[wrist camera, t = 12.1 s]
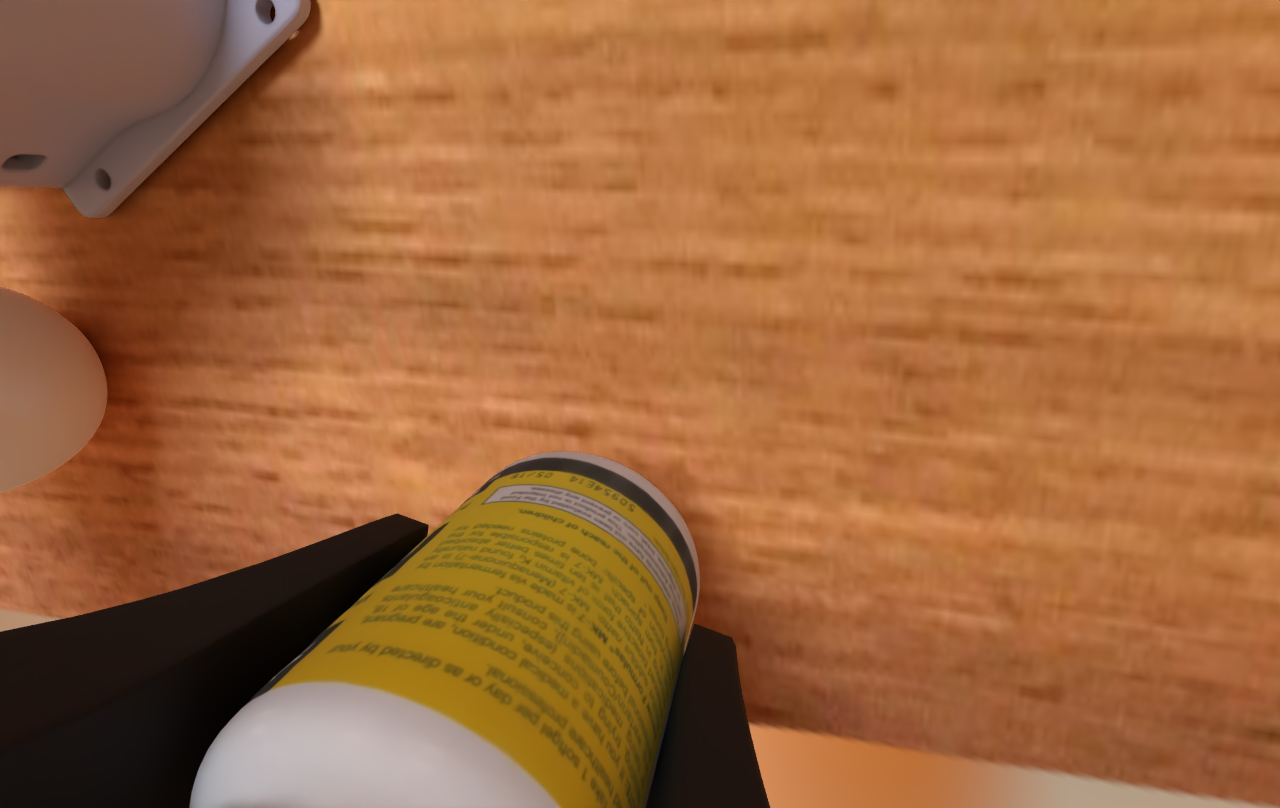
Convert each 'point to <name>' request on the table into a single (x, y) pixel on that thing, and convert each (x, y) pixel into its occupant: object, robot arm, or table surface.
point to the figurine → (44, 390)
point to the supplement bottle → (487, 660)
